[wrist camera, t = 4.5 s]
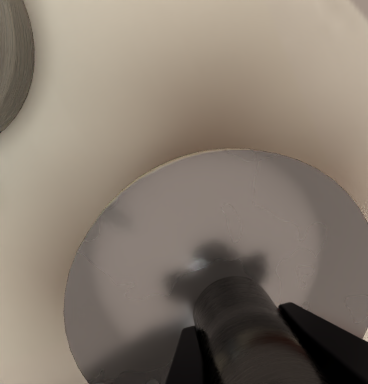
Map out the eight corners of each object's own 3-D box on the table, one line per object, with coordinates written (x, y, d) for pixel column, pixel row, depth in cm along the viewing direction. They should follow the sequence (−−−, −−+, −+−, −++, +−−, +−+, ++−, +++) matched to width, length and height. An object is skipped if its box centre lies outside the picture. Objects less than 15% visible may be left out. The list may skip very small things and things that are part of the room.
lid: (362, 373, 11) (516, 551, 6) (115, 440, 10) (83, 699, 6) (359, 120, 8) (619, 105, 4) (27, 184, 8) (-172, 268, 3)
